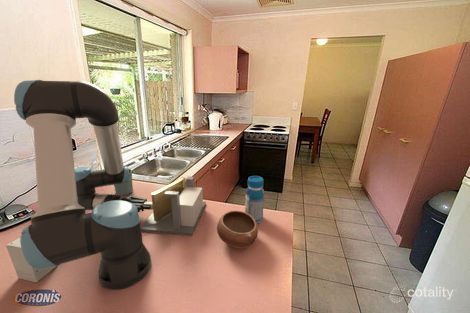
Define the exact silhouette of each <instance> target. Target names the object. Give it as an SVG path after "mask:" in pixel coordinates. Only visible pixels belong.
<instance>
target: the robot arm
mask: <svg viewBox="0 0 470 313" xmlns="http://www.w3.org/2000/svg"><path fill="white" fill-rule="evenodd" d="M13 94H14V96H13V102H14V105H15V112H16V113H17V115H18V116H19V118H20V119H21V120H24V121H25V123H26V124H27V125H28V126H29V127H30V128H32V129H33V141H34V142H33V143H34V158H35V172H36V175H35V176H36V177H35V178H36V190H37V204H38V206H37V208H38V210H37V211H36V212H35V213H34V214H33V215H32V216H31V217H30V221H31V222H30V224H28V225H26V226H25V227H23V229H22V230H21V232H20V234H21V235H20V237H19V238H20V243H21V249H22V252H23V255H24V258H25V259H26V261H27V262H28V263H29V265H30V266H32V267H33V268H36V269H43V268H47V267H51V266H56V267H58V266H60V265H62V264H65V263H69V262H73V261H76V260H80V259H83V258H85V257H90V256H93V255H97V254H100V262H99V268H98V271H97V272H98V273H97V274H98V280H99V283H100V285H101V286H102V287H103V288H104V289H108V290H113V291H115V290H116V291H117V290H123V289H126V288H130V287H131V286H133V285H135V284H137V283H138V282H140V281H141V280H142V279H144V277H145V276H146V275H147V274H148V272H149V271H150V270H151V269H150V268H151V267H152V259H151V258H152V257H151V253H150V252H149V250H148V248H147V247H146V245H145V243H144V242H143V235H142V231H141V223H140V221H141V217H140V215H139V214H140V212H141V213H143V212H144V211H145V210H147V211H148V210H150V211H151V210H152V211H153V205H152V201H148V198H146V197H141V196H137V195H134V194H128V195H129V196H128V197H126V196H124V197H123V196H122V197H121V195H117V194H113V193H112V194H111V193H110V194H109V193H98V192H96V189H97V188H102V187H107V186H114V185H115V184H122V183H125V182H129V181H130V174H129V169H130V168H129V167H128V166H127V165H126V166H124V160H123V155H122V153H123V152H122V148H121V143H120V135H119V130H118V122H119V120H120V117H119V111H118V109H117V107H116V104H115V103H114V102H113V100H112V98H111V97H110V96H109V95H108V94H107V93H106V92H105V91H103V89H101V88H100V87H99V86H96V85H95V84H93V83H90V82H88V81H84V80H83V81H82V80H43V79H35V80H22V81H21V82H19V83H18V84H17V85H16V86H15V89H14V93H13ZM85 118H86V119H87V120H88V123H89V124H90V125H91V126H92V128H93V130H94V134H95V139H96V143H97V146H98V150H99V153H100V158H101V161H102V165H103V169H97V170H92V167H90V166H77V167H78V168H74V167H75V161H74V160H75V158H74V148H73V140H72V129H73V128H74V127H75V126H76V124H77V119H85ZM86 211H91V212H89V213H86Z"/></svg>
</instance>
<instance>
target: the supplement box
mask: <svg viewBox="0 0 470 313" xmlns="http://www.w3.org/2000/svg"><path fill="white" fill-rule="evenodd" d="M5 247H6V249H7V252H8V255H9V257H10V260H11V262H12V265H13V269H14V270H15V272H16V273H15V274H16V276H17V278H18V279H20V280H25V281H28V282H33V283H38V282H39V281H41V279H43V278H44V277H45V276H46V275H48V274H49V273H50V272H52V271H53V270H54V269H55V268H57V266H51V267H47V268H43V269H36V268H33V267H32V266H30V265H29V263H28V262H27V261H26V259H25V258H24V255H23V252H22V249H21V243H20V237H18V238H16V239H15V240H13V241H11V242H10V243H9V242H8V243H7V244H6V245H5Z"/></svg>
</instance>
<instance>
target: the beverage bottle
mask: <svg viewBox="0 0 470 313" xmlns="http://www.w3.org/2000/svg"><path fill="white" fill-rule="evenodd" d="M264 183H265V182H264V178H263V177H262V176H259V175H251V176H248V179H247V186H248V187H246V190H245V197H244V200H245V202H244V204H245V206H244V212H245V213H248V214H249V215H251V216H252V217H253V218H254V219H255V221H256V223H257V224H259V223H261V222H263V221H262V220H263V218H264V217H263V216H264V215H263V214H264V203H265V190H264Z"/></svg>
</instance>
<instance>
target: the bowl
mask: <svg viewBox="0 0 470 313" xmlns="http://www.w3.org/2000/svg"><path fill="white" fill-rule="evenodd" d="M258 229H259V228H258V223H256V221H255V219H254V218H253V217H252V216H251V215H249V214H248V213H245V211H241V210H231V211H226V212H225V213H223V214H222V216H221V217H220V218H219V220H218V222H217V225H216V232H217V235H218V237H219V239H220V240H221V241H222V242H224V243H225V244H226V245H228V246H229V247H232V248H235V249H244V248H248V247H250V246H252V244H254V243H255V242H256V241H257V239H258V234H259V230H258Z"/></svg>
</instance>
